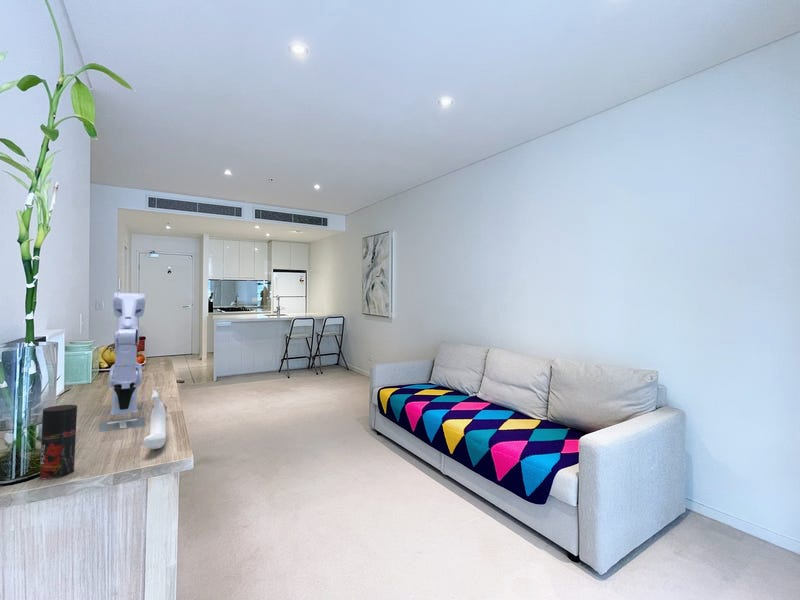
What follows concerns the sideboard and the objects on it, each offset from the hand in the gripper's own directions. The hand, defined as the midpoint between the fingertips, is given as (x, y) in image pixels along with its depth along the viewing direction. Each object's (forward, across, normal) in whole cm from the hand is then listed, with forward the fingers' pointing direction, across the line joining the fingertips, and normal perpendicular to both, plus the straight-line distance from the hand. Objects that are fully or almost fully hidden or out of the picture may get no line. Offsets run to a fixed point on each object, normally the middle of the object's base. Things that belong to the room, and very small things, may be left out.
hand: (123, 407), depth 125 cm
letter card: (+6, 0, 0) cm, 6 cm away
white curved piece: (+6, +28, +6) cm, 30 cm away
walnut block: (+3, 0, +8) cm, 9 cm away
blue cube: (+2, 0, 0) cm, 2 cm away
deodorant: (+6, +36, -13) cm, 39 cm away
